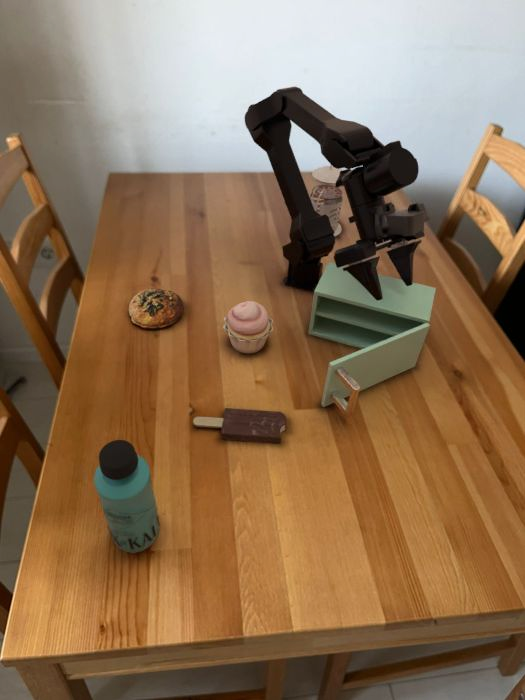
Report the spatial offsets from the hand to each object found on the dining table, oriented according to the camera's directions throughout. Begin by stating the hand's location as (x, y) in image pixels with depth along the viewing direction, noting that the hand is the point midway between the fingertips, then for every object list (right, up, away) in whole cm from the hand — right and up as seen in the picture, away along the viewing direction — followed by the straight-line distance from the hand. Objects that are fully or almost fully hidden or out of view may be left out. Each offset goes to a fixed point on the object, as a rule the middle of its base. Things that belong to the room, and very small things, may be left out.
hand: (395, 292), depth 88 cm
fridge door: (-2, -18, +1) cm, 18 cm away
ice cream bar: (-27, -23, -5) cm, 35 cm away
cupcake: (-26, -9, +9) cm, 29 cm away
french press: (-8, +20, +40) cm, 45 cm away
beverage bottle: (-40, -35, -18) cm, 56 cm away
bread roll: (-44, -3, +14) cm, 46 cm away
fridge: (-3, -6, +13) cm, 15 cm away
